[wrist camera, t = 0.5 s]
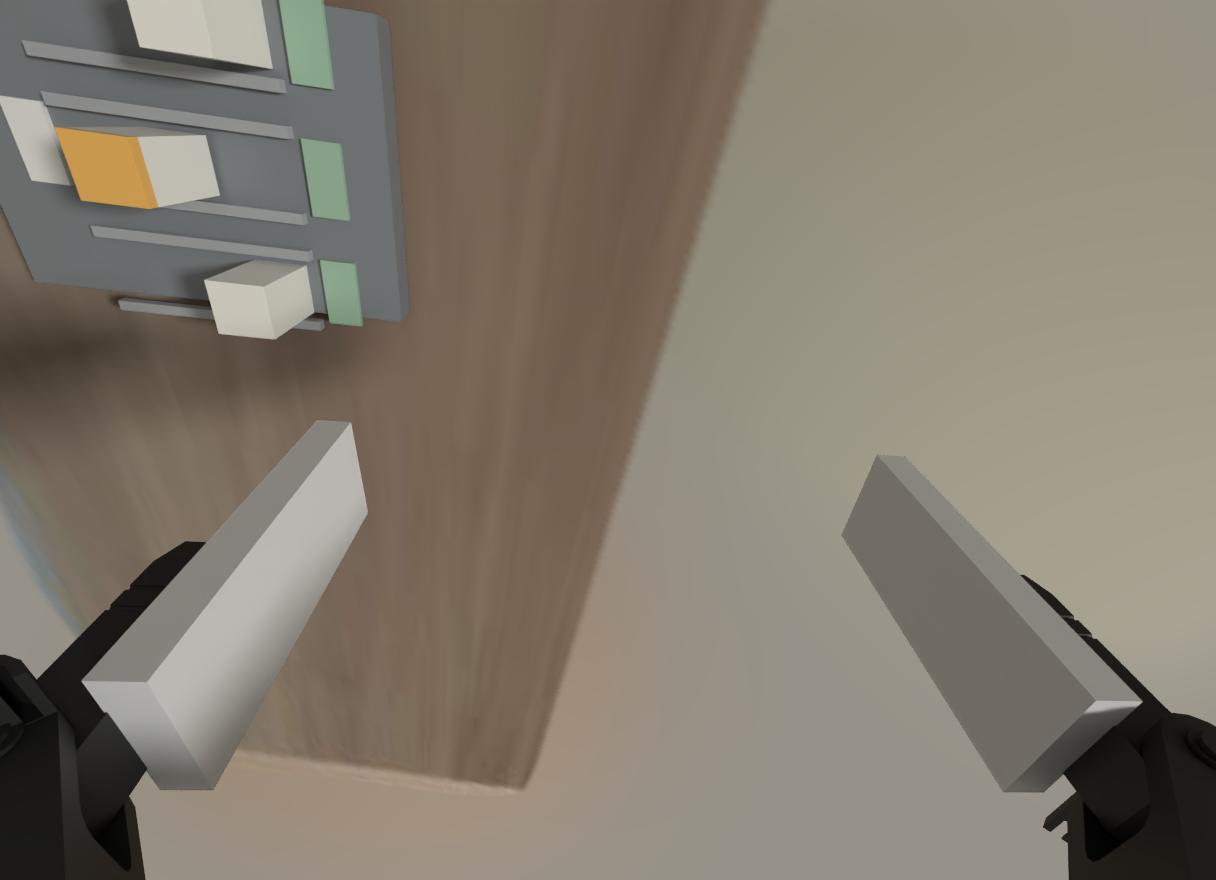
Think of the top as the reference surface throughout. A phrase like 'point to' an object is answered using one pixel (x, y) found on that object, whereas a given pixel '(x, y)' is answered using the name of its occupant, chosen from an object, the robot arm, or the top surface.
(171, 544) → the top surface
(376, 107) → the panel
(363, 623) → the top surface
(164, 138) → the breaker handle
